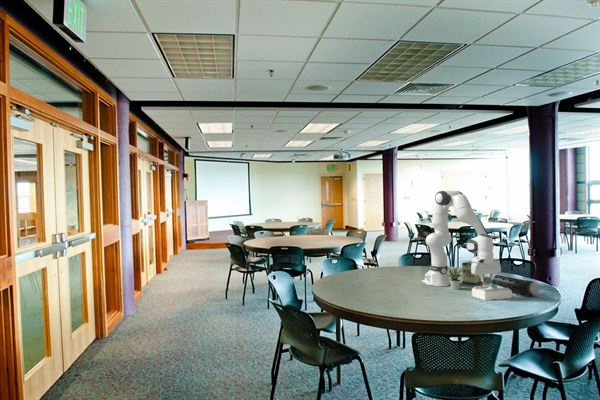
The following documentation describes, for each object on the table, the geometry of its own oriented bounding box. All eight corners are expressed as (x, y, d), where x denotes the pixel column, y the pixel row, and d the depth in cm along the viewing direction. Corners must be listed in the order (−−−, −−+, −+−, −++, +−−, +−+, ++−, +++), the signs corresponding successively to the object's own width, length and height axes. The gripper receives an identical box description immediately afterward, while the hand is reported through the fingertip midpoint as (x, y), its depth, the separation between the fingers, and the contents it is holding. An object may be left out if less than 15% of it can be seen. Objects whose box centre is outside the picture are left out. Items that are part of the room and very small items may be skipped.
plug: (482, 286, 250) (481, 276, 250) (487, 285, 251) (486, 276, 251) (486, 287, 246) (486, 277, 246) (491, 286, 247) (491, 277, 247)
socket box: (472, 295, 253) (471, 286, 253) (497, 293, 258) (497, 284, 258) (485, 300, 242) (484, 290, 242) (511, 298, 247) (511, 288, 247)
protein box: (461, 283, 292) (461, 262, 292) (471, 280, 302) (470, 260, 302) (475, 285, 284) (475, 264, 284) (484, 282, 294) (484, 261, 294)
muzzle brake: (501, 288, 274) (500, 273, 274) (540, 297, 249) (539, 281, 249) (491, 289, 270) (491, 275, 270) (530, 298, 244) (530, 282, 244)
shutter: (488, 287, 253) (488, 282, 253) (497, 286, 255) (497, 282, 255) (496, 290, 247) (495, 285, 247) (505, 289, 248) (505, 284, 248)
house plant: (469, 292, 264) (468, 268, 264) (447, 291, 267) (447, 267, 267) (464, 287, 278) (464, 264, 278) (444, 286, 281) (443, 264, 281)
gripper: (495, 257, 255) (496, 278, 254) (469, 259, 249) (469, 281, 249) (503, 259, 248) (503, 280, 248) (475, 260, 243) (476, 282, 243)
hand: (486, 280), depth 249 cm, fingers closed on plug, 4 cm apart
